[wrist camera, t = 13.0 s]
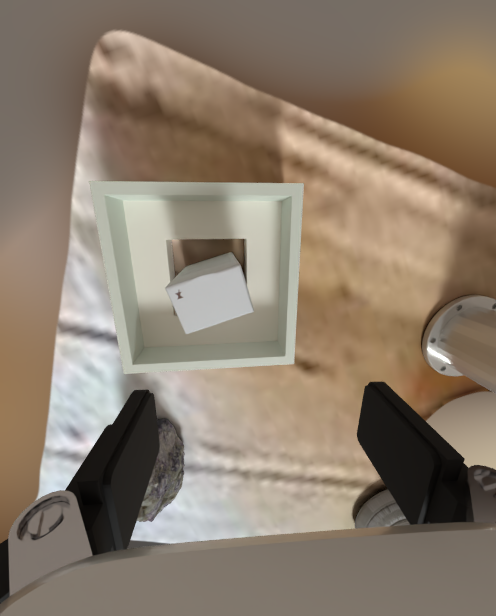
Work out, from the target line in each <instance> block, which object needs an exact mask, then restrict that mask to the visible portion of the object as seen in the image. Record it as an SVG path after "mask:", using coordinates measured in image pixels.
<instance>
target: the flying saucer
mask: <svg viewBox="0 0 496 616" xmlns="http://www.w3.org/2000/svg"><path fill="white" fill-rule="evenodd" d="M401 525H410V523H409V522H408V521H407V519H406V517H405V516H404V514H403V512H402V511H401V509H400V508H399V506H398V504H397V503H396V501H395V500H394V498H393V496H392V495H391V493H390V492H389V490H388V489H387V490H384V491H382V492H380V493H378V494H376V495H375V496H373V497H372V498H370V499H369V500H368V501H367V502H366V503H365V504H364V505H363V506H362V508H361V509H360V511H359V512H358V514H357V517H356V520H355V529H359V528H373V527H387V526H401Z"/></svg>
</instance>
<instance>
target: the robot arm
mask: <svg viewBox="0 0 496 616" xmlns="http://www.w3.org/2000/svg"><path fill="white" fill-rule="evenodd" d="M422 351H423V355H424V358H425V360H426V362H427V363H428V365H429V366H431V367H432V368H433V369H434V370H436V371H437V372H439V373H441V374H444V375H447V376H462V375H465V376H467V377H468V378H470V379H472V380H474V381H475V382H477V383H479V384H480V385H482V386H484V387H485V388H487V389H489V390H491V391H492V392H494V393H496V300H495V299H493V298H490V297H486V296H481V295H468V296H464V297H460V298H458V299H456V300H453V301H452V302H450V303H448V304H447V305H445V306H444V307H443V308H442V309H441V310H439V311H438V312H437V314H436V315H435V316H434V317H433V318H432V320H431V321H430V323H429V324H428V326H427V328H426V331H425V333H424V337H423V342H422ZM357 438H358V441H359V443H360V445H361V446H362V448H363V450H364V451H365V453H366V454H367V456H368V458H369V459H370V461H371V462H372V464H373V466H374V467H375V469H376V471H377V472H378V474H379V475H380V477H381V479H382V480H383V482H384V483H385V485H386V487H387V488H388V490H389V492H390V493H391V495H392V496H393V498H394V500H395V501H396V503H397V504H398V506H399V508H400V509H401V511H402V512H403V514H404V516H405V517H406V519H407V521H408V522H409V523H410V525H401V526H387V527H373V528H359V529H345V530H332V531H319V532H306V533H293V534H281V535H268V536H256V537H244V538H232V539H220V540H209V541H197V542H185V543H176V544H166V545H157V546H147V547H138V548H130V549H127V547H128V545H129V542H130V539H131V536H132V533H133V530H134V527H135V524H136V521H137V518H138V514H139V511H140V508H141V505H142V502H143V499H144V496H145V493H146V490H147V487H148V484H149V481H150V478H151V475H152V472H153V469H154V466H155V463H156V459H157V456H158V453H159V448H160V441H159V433H158V425H157V416H156V408H155V400H154V394H153V393H150V392H149V390H134V391H133V392H132V394H131V395H130V397H129V399H128V400H127V402H126V403H125V405H124V407H123V408H122V410H121V411H120V413H119V415H118V416H117V418H116V420H115V421H114V423H113V424H112V425H108V426H107V427H106V428H105V429H104V431H103V432H102V434H101V435H100V437H99V439H98V440H97V442H96V443H95V445H94V446H93V448H92V449H91V451H90V453H89V454H88V456H87V457H86V459H85V460H84V462H83V463H82V465H81V467H80V468H79V470H78V471H77V473H76V474H75V476H74V477H73V479H72V480H71V482H70V484H69V485H68V487H67V488H66V490H65V491H61V490H60V491H56V492H52V493H50V494H47V495H45V496H43V497H41V498H40V499H38V500H37V501H35V502H33V503H32V504H31V505H30V506H29V507H28V508H26V509H25V510H24V511H23V512H22V513H21V514H20V515H19V517H18V518H17V519H16V520H15V522H14V524H13V526H12V528H11V529H10V533H9V538H8V539H7V540H5V541H4V542H2V543H1V544H0V616H496V470H495V469H493V468H490V467H486V466H481V465H474V466H471V467H469V468H468V467H467V466H466V465H465V464H464V463H463V462H464V458H463V457H462V456H461V455H460V454H459V453H458V452H457V451H456V450H455V449H454V448H453V447H452V446H451V445H450V444H449V443H447V441H446V440H444V439H443V438H442V437H441V436H440V435H439V434H438V433H437V432H436V431H435V430H434V429H433V428H432V427H431V426H430V425H429V424H428V423H427V422H426V421H425V420H424V419H422V418H421V417H420V416H419V415H418V414H417V413H416V412H415V411H414V410H413V409H412V408H411V407H410V406H409V405H408V404H407V403H406V402H405V401H404V400H403V399H402V398H401V397H399V396H398V395H397V394H396V393H395V392H394V391H393V390H392V389H391V388H390V387H389V386H388V385H387V384H386V383H385V382H370V383H369V384H368V385H367V386H365V389H364V395H363V401H362V407H361V413H360V419H359V425H358V430H357Z"/></svg>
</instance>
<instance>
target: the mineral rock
mask: <svg viewBox="0 0 496 616" xmlns="http://www.w3.org/2000/svg"><path fill="white" fill-rule="evenodd" d="M157 425H158V433H159V441H160V448H159V453H158V456H157V459H156V463H155V466H154V469H153V472H152V475H151V478H150V481H149V484H148V487H147V490H146V493H145V496H144V499H143V502H142V505H141V508H140V511H139V514H138V518H137V521H139V522H142V521H143V522H146V521H150V522H152V521H153V520H154V518H155V517H156V516H157V514H158V513H159V512H161V511H162V509H163V508H164V507H165V506H167V505H168V504H170V503H171V502H172V501H173V500H174V499H175V497H176V495H177V493H178V491H179V490H180V489H181V487H182V481H183V475H184V471H183V467H184V466H185V465H184V458H183V457H184V455H185V453H184V452H183V449H184V445H183V443H182V441H181V440H180V439H179V438H178V436H177V434H176V431H175V429H174V426H173V425H172V424H171V423H170V422H169V420H167V419H161V420H157Z"/></svg>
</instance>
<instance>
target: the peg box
mask: <svg viewBox="0 0 496 616" xmlns="http://www.w3.org/2000/svg"><path fill="white" fill-rule="evenodd" d="M89 183H90V189H91V195H92V200H93V206H94V211H95V217H96V222H97V228H98V233H99V239H100V244H101V250H102V255H103V261H104V267H105V272H106V278H107V283H108V289H109V294H110V300H111V305H112V311H113V316H114V322H115V327H116V333H117V339H118V344H119V350H120V355H121V361H122V366H123V372H124V374H133V373H150V372H167V371H184V370H201V369H217V368H234V367H251V366H268V365H285V364H294V355H295V336H296V318H297V299H298V281H299V262H300V244H301V225H302V207H303V188H304V183H222V182H132V181H89ZM172 239H244V261H245V280H246V284H247V287H248V291H249V294H250V298H251V301H252V305H253V308H254V312H252V313H248V314H245V315H242V316H239V317H236V318H233V319H230V320H227V321H225V322H222V323H219V324H216V325H213V326H210V327H207V328H204V329H201V330H198V331H195V332H192V333H189V334H185V332H184V329H183V327H182V325H181V323H180V320H179V318H178V316H177V314H176V311H175V309H174V307H173V305H172V303H171V300H170V298H169V296H168V294H167V292H166V289H165V287H166V286H167V285H168V284H169V283H170V282H171V281H172V280H173V279H174V278H175V270H174V259H173V249H172Z"/></svg>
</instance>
